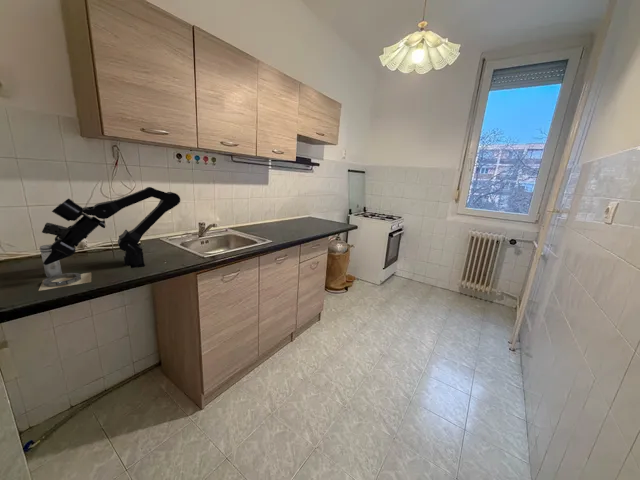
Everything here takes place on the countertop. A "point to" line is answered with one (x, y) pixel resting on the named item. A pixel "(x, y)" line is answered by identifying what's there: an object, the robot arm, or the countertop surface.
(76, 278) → the ring
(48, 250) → the clear glass jar
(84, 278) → the board
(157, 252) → the countertop surface
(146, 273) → the countertop surface
